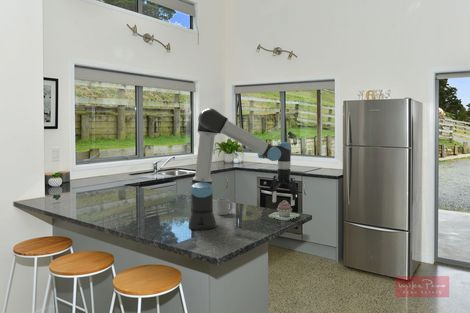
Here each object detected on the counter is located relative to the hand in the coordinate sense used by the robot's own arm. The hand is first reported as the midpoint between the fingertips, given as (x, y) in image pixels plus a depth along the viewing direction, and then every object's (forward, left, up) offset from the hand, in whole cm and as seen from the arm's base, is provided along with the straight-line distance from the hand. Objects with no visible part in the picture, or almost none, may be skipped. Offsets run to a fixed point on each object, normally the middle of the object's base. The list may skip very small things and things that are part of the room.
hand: (283, 203), depth 233 cm
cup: (-17, +33, -8) cm, 38 cm away
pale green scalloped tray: (0, 0, -8) cm, 8 cm away
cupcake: (0, -1, -8) cm, 8 cm away
